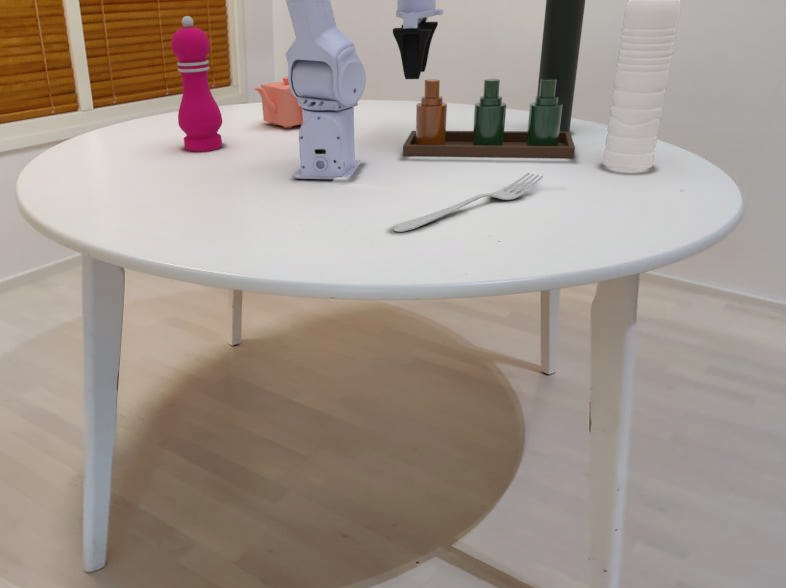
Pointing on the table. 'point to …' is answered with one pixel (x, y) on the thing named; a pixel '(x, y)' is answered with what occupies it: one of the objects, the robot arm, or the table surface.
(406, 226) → the fork
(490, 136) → the green bottle
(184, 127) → the pepper mill
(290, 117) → the teapot
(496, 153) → the tray
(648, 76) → the water bottle
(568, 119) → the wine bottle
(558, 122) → the green bottle
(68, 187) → the table surface
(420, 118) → the amber bottle
